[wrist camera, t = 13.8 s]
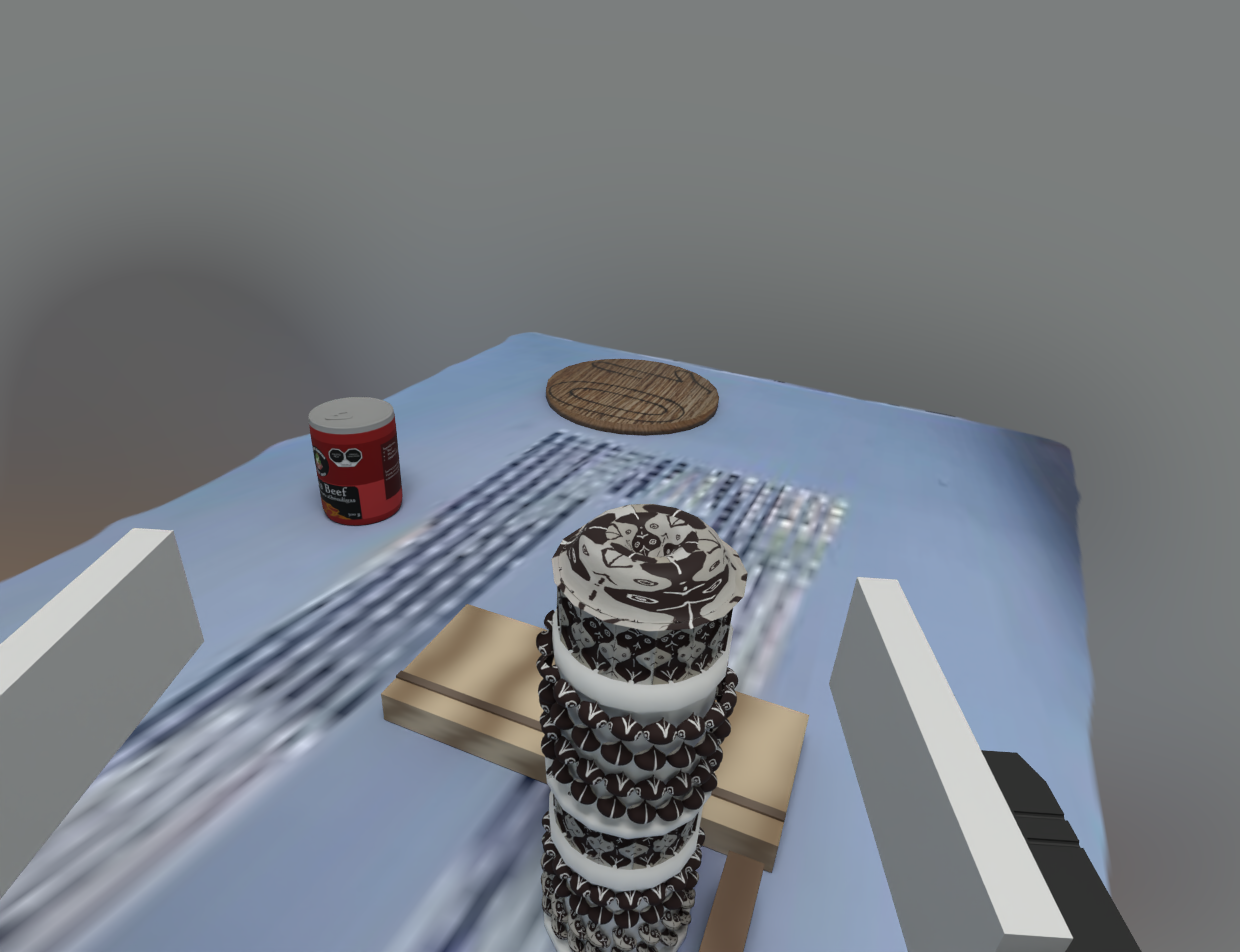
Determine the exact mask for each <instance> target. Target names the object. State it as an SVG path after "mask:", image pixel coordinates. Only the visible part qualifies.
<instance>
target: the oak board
mask: <svg viewBox="0 0 1240 952" xmlns="http://www.w3.org/2000/svg"><path fill="white" fill-rule="evenodd" d="M542 631H547V630H545V629H542V628H539V627H536V626H533V625H530V624H527V623H524V622H521V621H518V620H515V619H512V618H508V617H505V616H502V615H499V614H496V613H493V612H490V611H487V610H484V609H481V608H478V607H475V606H472V605H468V604H467V605H466V606H465V607H464V608H463V609H462V610H461V611H460V612H459V613H458V614H457V615H456V616H455V617H454V618H453V619H452V620H451V621H450V623H449V624H448V625H447V626H446V627H445V628H444V629H443V630H442V631H441V632H440V633H439V634H438V635H437V636H436V637H435V638H434V639H433V640H432V641H431V642H430V643H429V644H428V645H427V646H426V648H425V649H424V650H423V651H422V652H421V653H420V654H419V655H418V656H417V657H416V658H415V659H414V660H413V661H412V662H411V663H410V664H409V665H408V666H407V667H406V668H405V669H404V670H403V671H400V672H399V673H398V674H397V675H396V679H395V680H394V681H393V682H392V683H391V684H390V685H389V686H388V687H387V688H386V689H385V690H384V691H383V692H382V693H381V697H382V705H383V712H384V719H385V720H387V721H389V722H392V723H395V724H397V725H400V726H402V727H405V728H407V729H410V730H412V731H415V732H417V733H420V734H422V735H425V736H427V737H430V738H432V739H435V740H437V741H440V742H442V743H445V744H448V745H450V746H453V747H455V748H458V749H460V750H463V751H465V752H468V753H470V754H473V755H475V756H478V757H480V758H483V759H485V760H488V761H490V762H493V763H496V764H498V765H501V766H503V767H506V768H508V769H511V770H513V771H516V772H518V773H521V774H523V775H526V776H528V777H531V778H533V779H536V780H538V781H541V782H543V783H546V784H547V778H546V766H545V755H544V754H543V753H542V750H541V741H542V738H543V737H544V735H545V734H544V733H543V732H542V730H541V724H540V716H541V714H542V713H543V711H544V710H543V709H542V708H541V706H540V703H539V695H538V687H539V684H540V682H541V681H542V680H543V679H544V678H543V677H542V676H541V675H540V673H539V671H538V670H537V666H536V662H537V660H538V658H539V657H540V656H541V655H542V654H541V653H540V652H539V650H538V649H537V646H536V637H537V635H538V634H539V633H540V632H542ZM553 665H555V659H554V660H553V663H552V666H553ZM735 692H736V691H735ZM736 695H737V703H736V705H735V707H734V710H733V713H732V714H731V716H730V717H728V718H727V719H728V720H729V722H730V724H731V732H730V734H729V736H727V737H726V738H725V739H724V741H723V742H722V744H720V747H721V748H722V751H723V759H722V762H721V763H720V766H719V768H718V769H717V770H716V771H715V775H716V777H717V781H718V783H717V787H716V788H715V789H714V790H713V791H712V792H711V796H710V797H709V799H708V800H707V801H706V803H705V804H704V805H703V809H702V815H701V821H700V827H701V828H702V829H703V830H704V832H705V841H704V844H703V846H705V847H708V848H710V849H713V850H715V851H718V852H720V853H723V854H725V855H728V852H729V850H730V851H733V852H735V853H738V854H740V855H743V856H745V857H748V858H750V859H753V860H756V861H758V862H761V863H763V864H765V865H764V869H763V870H766V871H768V872H771V873H772V869H773V866H774V862H775V858H776V854H777V850H778V846H779V841H780V837H781V833H782V829H783V824H784V820H785V816H786V812H787V807H788V803H789V799H790V795H791V790H792V786H793V782H794V777H795V773H796V769H797V765H798V760H799V756H800V752H801V748H802V743H803V739H804V735H805V730H806V726H807V722H808V718H809V715H807V714H804V713H801V712H798V711H795V710H792V709H789V708H786V707H783V706H779V705H776V704H773V703H770V702H767V701H764V700H761V699H758V698H755V697H752V696H749V695H746V694H743V693H739V692H736ZM715 702H717V700H715Z"/></svg>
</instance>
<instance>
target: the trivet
mask: <svg viewBox="0 0 1240 952" xmlns="http://www.w3.org/2000/svg"><path fill="white" fill-rule="evenodd" d="M546 399H547V401H548V403H549V406H550V407H551V408H552V409H553V410H554V411H555V412H556V413H557V414H559V415H560V416H561V417H563V418H565V419H567V420H569V421H571V422H573V423H575V424H578V425H581V426H585V427H588V428H591V429H595V430H598V431H604V432H610V433H616V434H626V435H645V436H646V435H662V434H672V433H677V432H682V431H686V430H690V429H693V428H695V427H698V426H700V425H703V424H705V423H706V422H707V421H709V420H710V419H711V418H712V417H713V416H714V415H715V413H716V410H717V408H718V400H719V396H718V393H717V389H716V388H715V387H714V386H713V385H712V384H711V383H710V382H709V381H708V380H706V379H705V378H703V377H701V376H700V375H698V374H696V373H694V372H691V371H688V370H686V369H683V368H680V367H676V366H672V365H668V364H664V363H659V362H652V361H645V360H633V359H605V360H595V361H588V362H582V363H579V364H575V365H572V366H568V367H566V368H564V369H562V370H560V371H558V372H556V373H555V374H554V375H553V376H552V377H551V378H550V379H549V380H548V383H547V387H546Z"/></svg>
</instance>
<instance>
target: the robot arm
mask: <svg viewBox="0 0 1240 952" xmlns="http://www.w3.org/2000/svg"><path fill="white" fill-rule="evenodd" d="M203 642H204V639H203V635H202V631H201V628H200V624H199V621H198V617H197V614H196V610H195V606H194V603H193V599H192V596H191V592H190V589H189V585H188V581H187V578H186V574H185V571H184V567H183V564H182V560H181V556H180V553H179V549H178V546H177V542H176V539H175V535H174V531H170V530H156V529H141V528H133V529H132V530H131V531H130V532H128V533H127V534H126V535H125V536H124V537H123V538H122V539H120V540H119V541H118V542H117V543H116V544H115V545H114V546H112V547H111V548H110V549H109V550H108V551H107V552H106V553H104V554H103V555H102V556H101V557H100V558H99V559H98V560H96V561H95V562H94V563H93V564H92V565H91V566H90V567H88V568H87V569H86V570H85V571H84V572H83V573H82V574H80V575H79V576H78V577H77V578H76V579H75V580H74V581H72V582H71V583H70V584H69V585H68V586H67V587H66V588H64V589H63V590H62V591H61V592H60V593H59V594H58V595H56V596H55V597H54V598H53V599H52V600H51V601H49V602H48V603H47V604H46V605H45V606H44V607H43V608H41V609H40V610H39V611H38V612H37V613H36V614H35V615H33V616H32V617H31V618H30V619H29V620H28V621H27V622H25V623H24V624H23V625H22V626H21V627H20V628H19V629H17V630H16V631H15V632H14V633H13V634H12V635H11V636H9V637H8V638H7V639H6V640H5V641H4V642H3V643H1V644H0V899H1V898H2V897H3V895H4V894H5V893H6V891H7V890H8V889H9V888H10V886H11V885H12V884H13V883H14V881H15V880H16V879H17V878H18V876H19V875H20V874H21V872H22V871H23V870H24V869H25V867H26V866H27V865H28V864H29V862H30V861H31V860H32V859H33V857H34V856H35V855H36V853H37V852H38V851H39V850H40V848H41V847H42V846H43V845H44V843H45V842H46V841H47V840H48V838H49V837H50V836H51V834H52V833H53V832H54V831H55V829H56V828H57V827H58V826H59V824H60V823H61V822H62V821H63V819H64V818H65V817H66V815H67V814H68V813H69V812H70V810H71V809H72V808H73V807H74V805H75V804H76V803H77V802H78V800H79V799H80V798H81V796H82V795H83V794H84V793H85V791H86V790H87V789H88V788H89V786H90V785H91V784H92V783H93V781H94V780H95V779H96V777H97V776H98V775H99V774H100V772H101V771H102V770H103V769H104V767H105V766H106V765H107V764H108V762H109V761H110V760H111V758H112V757H113V756H114V755H115V753H116V752H117V751H118V750H119V748H120V747H121V746H122V745H123V743H124V742H125V741H126V739H127V738H128V737H129V736H130V734H131V733H132V732H133V731H134V729H135V728H136V727H137V726H138V724H139V723H140V722H141V720H142V719H143V718H144V717H145V715H146V714H147V713H148V712H149V710H150V709H151V708H152V707H153V705H154V704H155V703H156V701H157V700H158V699H159V698H160V696H161V695H162V694H163V693H164V691H165V690H166V689H167V688H168V686H169V685H170V684H171V682H172V681H173V680H174V679H175V677H176V676H177V675H178V674H179V672H180V671H181V670H182V669H183V667H184V666H185V665H186V663H187V662H188V661H189V660H190V658H191V657H192V656H193V655H194V653H195V652H196V651H197V650H198V648H199V647H200V646H201V644H202V643H203ZM829 685H830V689H831V692H832V695H833V699H834V702H835V705H836V709H837V712H838V716H839V719H840V722H841V726H842V729H843V733H844V736H845V739H846V743H847V746H848V750H849V753H850V756H851V760H852V763H853V766H854V770H855V773H856V777H857V780H858V783H859V787H860V790H861V794H862V797H863V800H864V804H865V807H866V811H867V814H868V817H869V821H870V824H871V828H872V831H873V834H874V838H875V841H876V844H877V848H878V851H879V855H880V858H881V861H882V865H883V868H884V872H885V875H886V878H887V882H888V885H889V889H890V892H891V895H892V899H893V902H894V905H895V909H896V912H897V916H898V919H899V922H900V926H901V929H902V933H903V936H904V939H905V943H906V946H907V950H908V952H1141V950H1140V949H1139V947H1138V945H1137V943H1136V942H1135V940H1134V938H1133V936H1132V934H1131V933H1130V931H1129V929H1128V927H1127V925H1126V924H1125V922H1124V920H1123V918H1122V916H1121V915H1120V913H1119V911H1118V909H1117V907H1116V906H1115V904H1114V902H1113V900H1112V899H1111V897H1110V895H1109V893H1108V891H1107V890H1106V888H1105V886H1104V884H1103V883H1102V881H1101V879H1100V877H1099V875H1098V874H1097V872H1096V870H1095V868H1094V867H1093V865H1092V863H1091V861H1090V859H1089V858H1088V856H1087V854H1086V852H1085V850H1084V849H1083V848H1080V846H1079V840H1078V838H1077V836H1076V834H1075V833H1074V831H1073V829H1072V827H1071V826H1070V824H1069V822H1068V821H1065V819H1064V813H1063V811H1062V810H1061V808H1060V806H1059V804H1058V802H1057V801H1056V799H1055V797H1054V795H1053V793H1052V792H1051V790H1050V788H1049V786H1048V785H1047V783H1046V781H1045V780H1044V779H1043V778H1042V777H1041V776H1040V775H1039V774H1038V773H1037V772H1036V771H1035V770H1034V769H1033V768H1032V767H1031V766H1030V765H1029V764H1028V763H1027V762H1026V761H1025V760H1024V759H1023V758H1022V757H1021V756H1020V755H1019V754H1018V753H1012V752H997V751H983V750H980V747H979V745H978V743H977V741H976V739H975V737H974V735H973V733H972V731H971V729H970V727H969V725H968V723H967V721H966V719H965V717H964V715H963V713H962V711H961V709H960V707H959V705H958V703H957V701H956V699H955V697H954V695H953V692H952V690H951V688H950V686H949V684H948V682H947V680H946V678H945V676H944V674H943V672H942V670H941V668H940V666H939V664H938V662H937V660H936V658H935V656H934V654H933V652H932V650H931V648H930V646H929V644H928V642H927V640H926V638H925V635H924V633H923V631H922V629H921V627H920V625H919V623H918V621H917V619H916V617H915V615H914V613H913V611H912V609H911V607H910V605H909V603H908V601H907V599H906V597H905V595H904V593H903V591H902V589H901V587H900V585H899V583H898V580H892V579H877V578H862V577H857V580H856V583H855V587H854V591H853V595H852V599H851V602H850V606H849V610H848V614H847V618H846V622H845V625H844V629H843V633H842V637H841V641H840V644H839V648H838V652H837V656H836V660H835V663H834V667H833V671H832V675H831V679H830V683H829Z"/></svg>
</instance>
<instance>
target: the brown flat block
mask: <svg viewBox="0 0 1240 952" xmlns="http://www.w3.org/2000/svg"><path fill="white" fill-rule="evenodd" d="M764 865H765V864H763V863H761V862H758V861H756V860H753V859H750V858H748V857H745V856H743V855H740V854H738V853H735V852H733V851H730V850H729V852H728V856H727V859H726V862H725V866H724V869H723V872H722V876H721V879H720V882H719V886H718V889H717V892H716V896H715V899H714V902H713V906H712V909H711V913H710V916H709V919H708V923H707V926H706V929H705V933H704V936H703V939H702V943H701V946H700V949H699V952H743V950H744V946H745V942H746V938H747V934H748V930H749V926H750V922H751V918H752V914H753V910H754V906H755V902H756V898H757V893H758V889H759V885H760V881H761V877H762V873H763V869H764Z"/></svg>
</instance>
